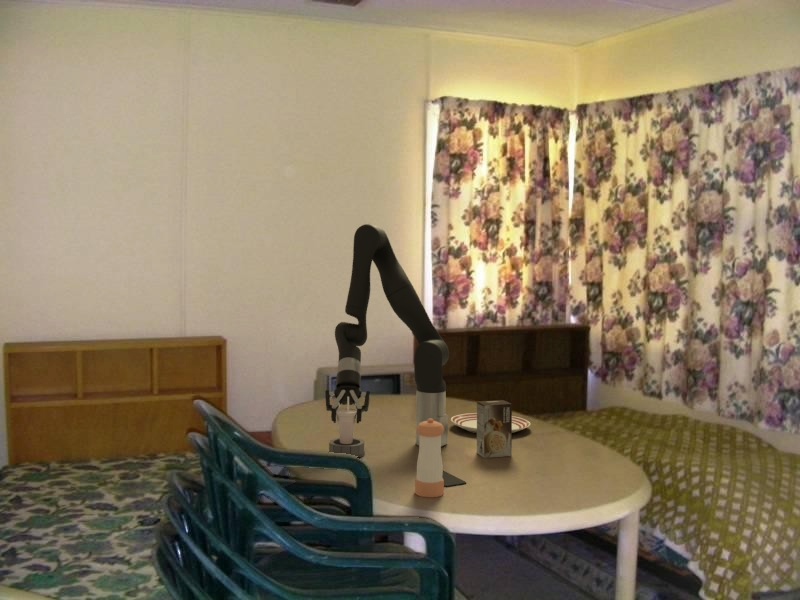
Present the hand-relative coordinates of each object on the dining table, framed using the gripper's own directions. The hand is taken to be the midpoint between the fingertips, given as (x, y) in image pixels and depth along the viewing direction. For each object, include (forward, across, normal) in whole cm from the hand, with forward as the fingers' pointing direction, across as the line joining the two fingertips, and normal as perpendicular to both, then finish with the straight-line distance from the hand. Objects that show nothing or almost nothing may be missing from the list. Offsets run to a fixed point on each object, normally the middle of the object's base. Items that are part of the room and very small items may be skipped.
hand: (346, 421), depth 233 cm
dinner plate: (-18, +48, +33) cm, 61 cm away
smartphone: (+23, +27, -8) cm, 37 cm away
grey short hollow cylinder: (+6, 0, +8) cm, 10 cm away
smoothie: (+4, 0, +6) cm, 7 cm away
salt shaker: (+32, +23, -18) cm, 43 cm away
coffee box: (+6, +45, +9) cm, 46 cm away
